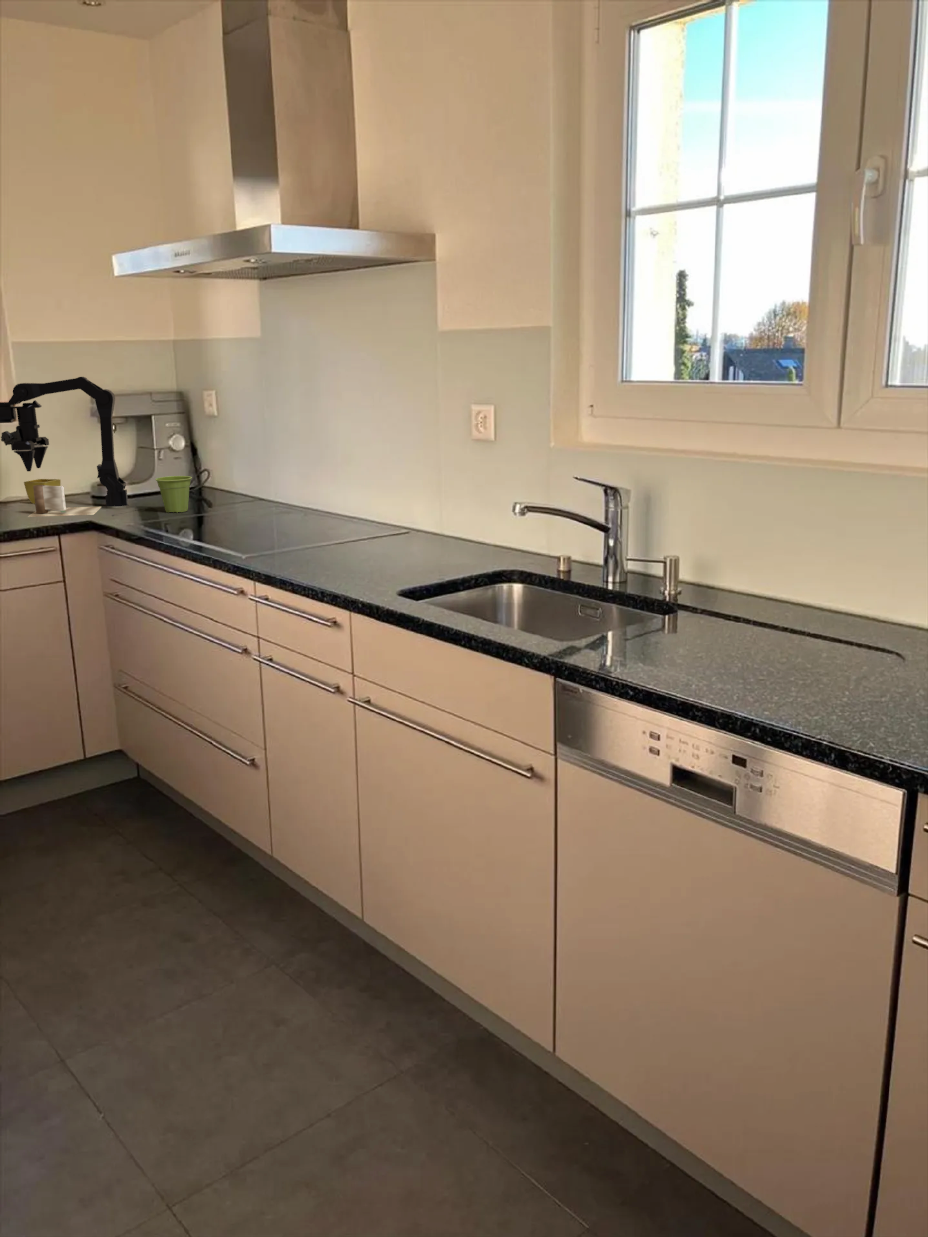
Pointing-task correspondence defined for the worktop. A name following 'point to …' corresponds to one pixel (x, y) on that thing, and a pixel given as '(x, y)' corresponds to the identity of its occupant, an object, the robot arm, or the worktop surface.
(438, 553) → the worktop surface
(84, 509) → the board
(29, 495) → the flower pot
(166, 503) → the plant pot
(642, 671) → the worktop surface
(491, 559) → the worktop surface
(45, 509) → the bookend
